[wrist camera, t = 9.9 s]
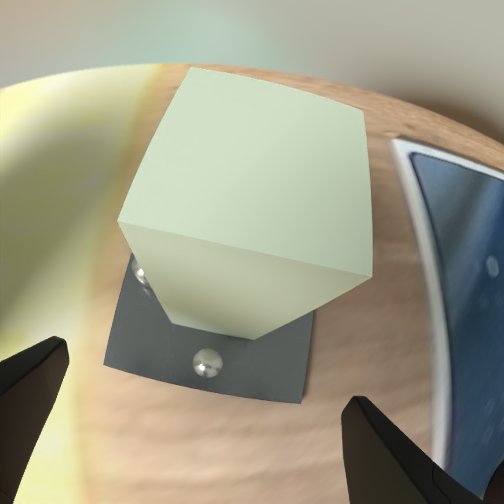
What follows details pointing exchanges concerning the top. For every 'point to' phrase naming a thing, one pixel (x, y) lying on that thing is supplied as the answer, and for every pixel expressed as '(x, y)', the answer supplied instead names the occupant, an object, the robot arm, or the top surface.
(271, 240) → the sage block
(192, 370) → the grey peg board
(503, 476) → the bottle
